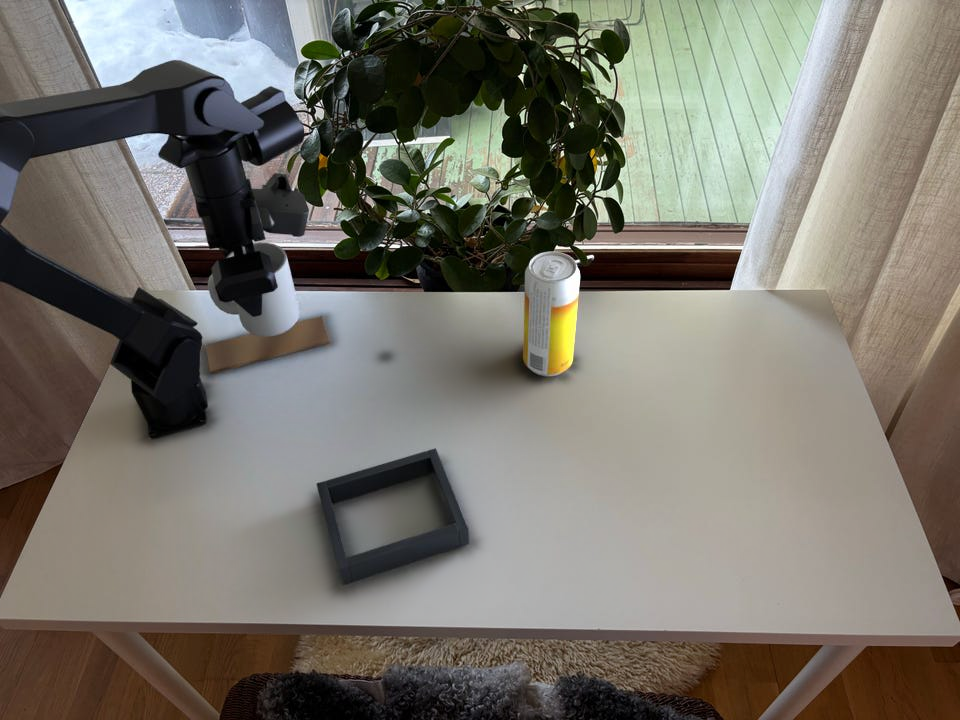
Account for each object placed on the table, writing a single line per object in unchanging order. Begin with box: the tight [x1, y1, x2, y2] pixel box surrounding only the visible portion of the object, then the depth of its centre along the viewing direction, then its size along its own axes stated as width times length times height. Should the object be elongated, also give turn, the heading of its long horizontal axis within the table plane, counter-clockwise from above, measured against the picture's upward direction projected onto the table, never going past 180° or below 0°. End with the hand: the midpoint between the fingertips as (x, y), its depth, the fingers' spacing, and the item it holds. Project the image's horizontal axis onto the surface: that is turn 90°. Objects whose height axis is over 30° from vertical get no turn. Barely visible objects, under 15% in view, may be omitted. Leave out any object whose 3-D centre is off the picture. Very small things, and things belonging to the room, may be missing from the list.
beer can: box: [522, 251, 581, 377], centre depth 92 cm, size 6×6×15 cm
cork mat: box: [205, 315, 331, 375], centre depth 100 cm, size 15×5×1 cm, turn 110°
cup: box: [207, 241, 300, 337], centre depth 94 cm, size 7×10×9 cm
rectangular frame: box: [316, 448, 470, 586], centre depth 80 cm, size 13×11×3 cm
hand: (252, 296), depth 94 cm, fingers closed on cup, 7 cm apart
